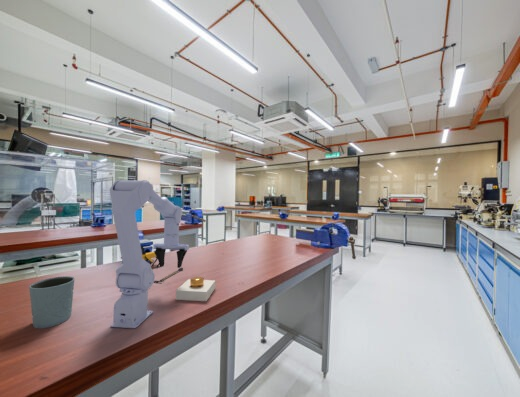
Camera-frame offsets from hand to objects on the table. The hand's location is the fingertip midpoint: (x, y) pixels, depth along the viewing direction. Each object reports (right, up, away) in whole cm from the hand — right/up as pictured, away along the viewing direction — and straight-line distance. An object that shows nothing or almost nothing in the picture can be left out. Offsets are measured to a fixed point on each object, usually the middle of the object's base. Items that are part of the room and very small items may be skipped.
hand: (170, 266), depth 91 cm
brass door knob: (+12, -10, -2) cm, 16 cm away
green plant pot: (-27, -10, -24) cm, 37 cm away
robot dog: (-25, -10, +28) cm, 39 cm away
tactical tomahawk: (-6, -11, +18) cm, 22 cm away
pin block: (+11, -10, -2) cm, 16 cm away
